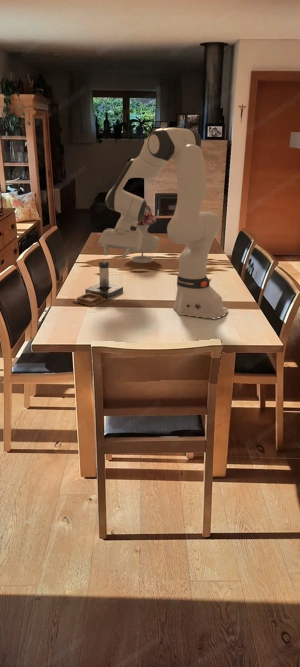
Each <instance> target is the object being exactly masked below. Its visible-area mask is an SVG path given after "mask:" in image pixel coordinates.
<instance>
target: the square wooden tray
mask: <svg viewBox="0 0 300 667" xmlns="http://www.w3.org/2000/svg"><path fill="white" fill-rule="evenodd" d="M102 301H103V302H105V301H107V299H106V298H102V296H100V295H96V294H91V293H86V294H85V293H84V294H82V295H80V296H78V297H77V298H75V299H74V300H72V303H74V304H78V303H81V304H80V305H82V304H85V305H84V306H87V305H88V306H87V307H91V306H93V307H94V305H95V304H97V303H99V304H101V303H103V302H102ZM100 302H101V303H100ZM97 305H98V304H97ZM95 306H96V305H95Z"/></svg>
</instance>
